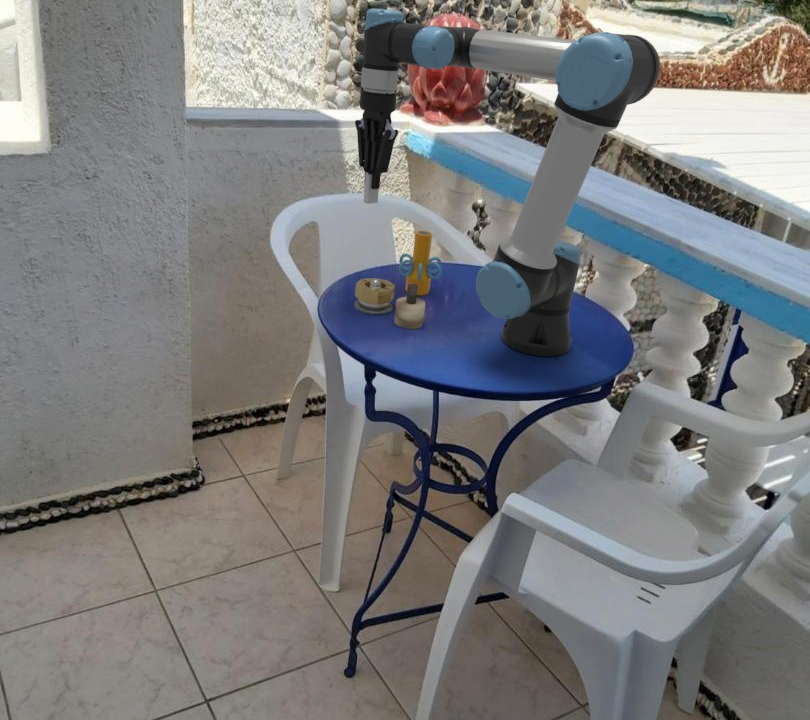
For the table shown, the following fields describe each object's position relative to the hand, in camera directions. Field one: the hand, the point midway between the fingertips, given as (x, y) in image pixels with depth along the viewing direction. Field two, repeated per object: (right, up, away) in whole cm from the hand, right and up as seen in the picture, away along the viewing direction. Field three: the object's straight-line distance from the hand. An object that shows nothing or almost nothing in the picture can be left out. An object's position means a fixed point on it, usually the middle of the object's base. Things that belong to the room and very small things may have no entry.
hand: (370, 202), depth 170 cm
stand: (+8, -27, +2) cm, 28 cm away
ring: (+1, -20, +7) cm, 22 cm away
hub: (0, -23, +8) cm, 24 cm away
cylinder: (+11, -18, +20) cm, 29 cm away
